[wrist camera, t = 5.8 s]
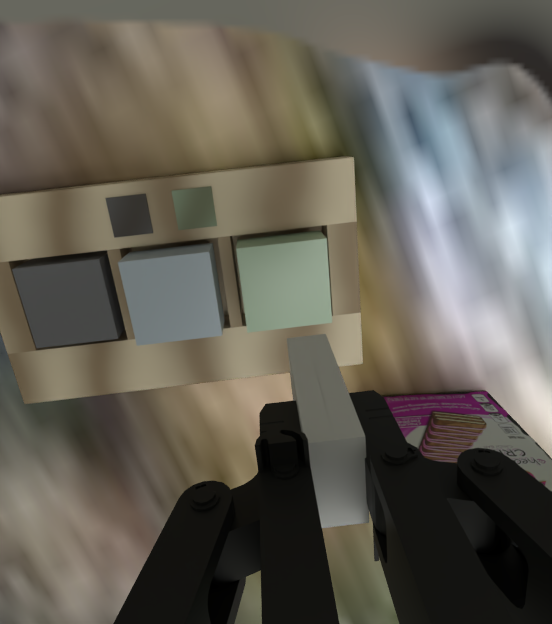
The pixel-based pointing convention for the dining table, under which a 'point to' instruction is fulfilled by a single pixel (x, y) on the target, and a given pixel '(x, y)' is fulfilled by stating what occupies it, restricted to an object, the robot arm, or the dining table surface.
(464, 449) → the candy bar box
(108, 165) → the dining table surface
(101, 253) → the key charcoal
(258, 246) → the key sage
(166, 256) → the key slate
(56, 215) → the keypad
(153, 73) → the dining table surface
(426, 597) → the robot arm
